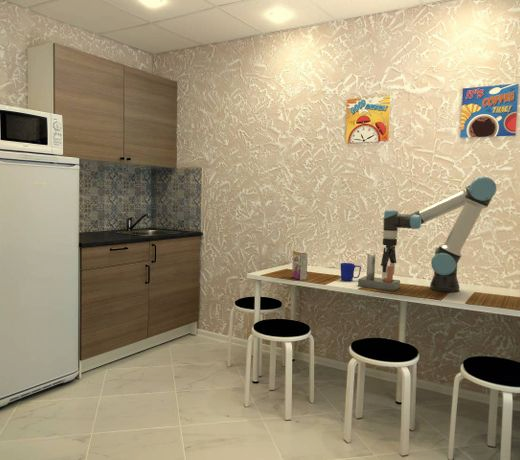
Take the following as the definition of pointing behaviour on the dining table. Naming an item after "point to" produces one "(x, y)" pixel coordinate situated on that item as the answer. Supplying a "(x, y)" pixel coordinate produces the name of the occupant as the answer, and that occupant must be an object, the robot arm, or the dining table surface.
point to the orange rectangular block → (389, 275)
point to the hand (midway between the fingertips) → (388, 276)
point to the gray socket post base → (375, 282)
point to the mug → (348, 271)
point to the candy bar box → (299, 265)
